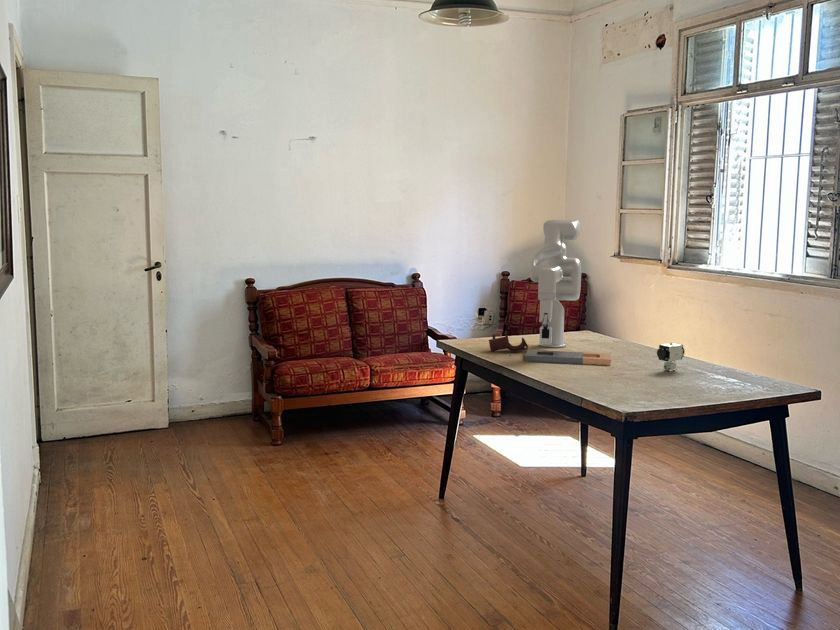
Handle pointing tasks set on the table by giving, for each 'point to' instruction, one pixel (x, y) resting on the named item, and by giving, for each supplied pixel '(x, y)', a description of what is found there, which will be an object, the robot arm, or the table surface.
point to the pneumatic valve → (670, 354)
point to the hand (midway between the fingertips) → (545, 336)
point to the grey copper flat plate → (568, 357)
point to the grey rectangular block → (544, 340)
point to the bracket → (506, 344)
